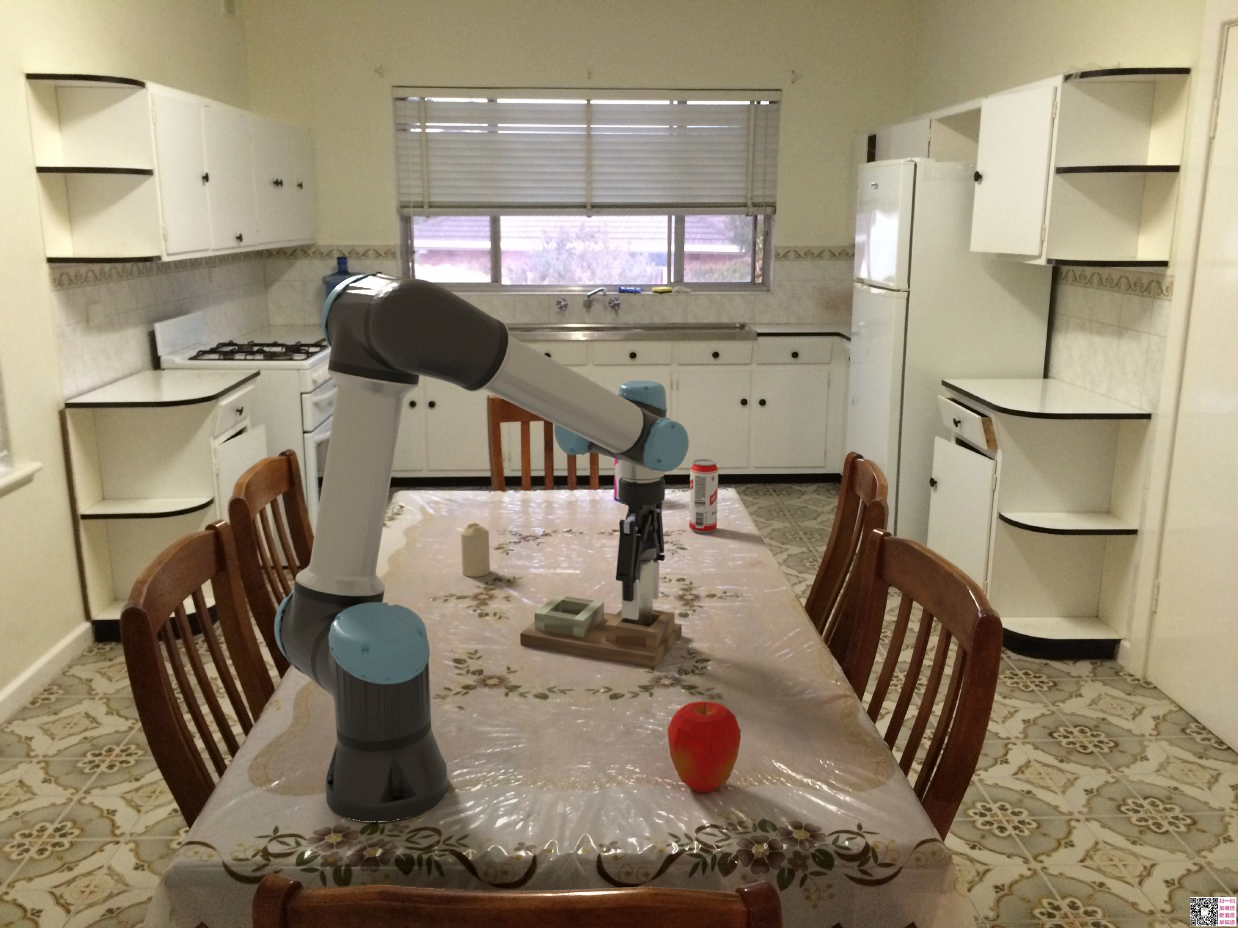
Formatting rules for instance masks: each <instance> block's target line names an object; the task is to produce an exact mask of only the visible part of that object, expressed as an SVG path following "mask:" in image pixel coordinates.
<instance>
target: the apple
mask: <svg viewBox="0 0 1238 928" xmlns="http://www.w3.org/2000/svg"><path fill="white" fill-rule="evenodd" d="M666 731H667V738H668V748H669V754H670V758H671V762H672V764H673V766H674V768H675V772H676V774H677V776H678V778H679V779H680V781H681V782H683V784H685V785H686V786H687V788H689V789H690V790H693V791H694V792H697V793H701V794H702V793H703V794H708V793H712V792H714V791H716V790H718V789H719V788H720V787H721V786H723V785H724V784H725V783H726V782H727V781H728V780H729V779H730V776H731V775H732V772H733V769H734V767H735V764H736V762H737V759H738V756H739V750H740V743H741V737H742V736H741V735H742V734H741V728H740V726H739V723H738V720H737V718H736V715H735V714H734V713H733V712H732V711H731V710H729V708H728V707H726V706H725V705H723V704H720V703H718V702H713V701H706V700H705V701H693V702H690V703H687V704H684V705H683V706H682V707H681V708H679V709H678V710H677V711H676V713H675V714H674V715H673V716H672V718H671V721H670V723H669V724H668V726H667V730H666Z"/></svg>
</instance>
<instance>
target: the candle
mask: <svg viewBox="0 0 1238 928" xmlns="http://www.w3.org/2000/svg"><path fill="white" fill-rule="evenodd" d="M460 545H461V547H460V548H461V572H462V574H463V576H465V577H470V578H480V577H483V576H487V575H489V574H490V573H491V572H490V570H491V568H490V567H491V562H490V561H491V560H490V559H491V558H490V532H489V530H488V529H487V528H486V527H484V526H483V525H481V524H480V523H476V522H473V523H469V524H468V525H466V526H465V528H463V529H462V530H461V532H460Z"/></svg>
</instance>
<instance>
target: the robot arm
mask: <svg viewBox="0 0 1238 928" xmlns="http://www.w3.org/2000/svg"><path fill="white" fill-rule="evenodd" d="M321 311H322V312H321V319H320V321H321V331H322V335H323V336H324V339H325V340H326V343H327V344H328V346H329V347H330V353H329V359H328V365H327V366H328V367H327V373H328V374H329V375H330V377H331V378H332V379H333V381H334V383H335V384H336V395H335V402H334V408H333V415H332V420H331V427H330V433H329V438H328V439H329V441H328V447H327V453H326V458H325V459H326V460H325V465H324V470H323V471H324V472H323V479H322V485H321V492H320V498H319V504H318V511H317V516H316V524H315V530H314V536H313V541H312V542H313V543H312V550H311V555H310V561H309V564H308V565H307V567H305V568H304V569H302V570H300V571H299V572H298V573H297V574H296V576H295V580H294V587H293V589H292V590H291V591H290V594H288V595H287V597H284V598H283V600H282V601H281V603H280V604H279V607H278V609H277V611H276V615H275V618H274V627H273V630H274V637H275V641H276V644H277V647H278V648H279V650H280V652H281V653H282V655H283V656H284V657H285V658H286V659H287V662H288V663H289V664H290V665H292V667H294V668H293V669H295V670H297V671H298V672H300V673H301V674H303V675H305V676H306V677H308V678H309V679H311V680H312V681H313V682H314V683H316V685H318V686H319V687H321V688H322V689H323V690H324V691H326V692H327V693H328V694H329V695H331V696H332V698H333V702H334V703H333V704H334V714H335V715H334V716H335V726H336V727H335V728H336V729H335V730H336V742H335V745H334V748H333V753H332V755H331V760H330V762H329V767H328V770H327V773H326V778H325V797H326V799H325V800H326V803H327V805H328V807H329V808H330V810H332V811H333V812H334V813H335V814H336V813H337V815H338V814H339V815H338V816H340V815H341V816H340V817H342V816H343V817H342V818H344V817H346V818H345V819H347V818H350V819H355V820H358V821H359V820H360V821H369V822H370V821H372V822H373V821H376V822H378V821H393V820H397V819H403V818H406V819H408V818H407V817H410V818H412V817H415V816H418V815H421V814H423V813H424V812H426V811H428V810H429V809H432V808H433V807H434V806H436V805H437V804H438V803H439V802H440V801H441V800H442V799H443V798H444V796H445V795H446V792H447V790H448V785H449V783H448V781H449V780H448V768H447V764H446V762H445V760H444V758H443V756H442V753H441V750H440V747H439V745H438V742H437V740H436V737H435V735H434V733H433V729H432V716H431V715H432V710H431V707H432V705H431V687H430V686H431V685H430V654H431V653H430V642H429V640H428V633H427V628H426V625H425V623H424V621H423V619H422V618H421V617H420V615H418V614H417V613H416V612H415V611H414V610H411V609H409V608H408V607H405V606H402V605H400V604H397V603H396V604H392V605H390V604H389V603H388V602H384V595H385V589H386V586H385V584H384V582H383V581H382V580H381V578H380V577H379V575H377V566H378V560H379V554H380V547H381V544H382V543H381V542H382V535H383V529H384V524H385V517H386V511H387V505H388V501H389V500H388V499H389V492H390V488H391V487H390V486H391V482H392V481H391V479H392V476H393V475H392V473H393V468H394V464H395V463H394V462H395V455H396V450H397V442H398V438H399V437H398V436H399V432H400V424H401V418H402V413H403V407H404V400H405V398H406V396H407V395H409V394H410V393H411V392H413V391H414V390H416V389H417V388H418V386H419V381H420V377H421V376H423V377H426V378H431V379H436V380H440V381H443V382H447V383H449V384H453V385H455V386H458V387H460V388H461V389H464V390H465V391H467V392H468V391H469V392H474V393H475V392H479V391H481V390H483V391H486V392H488V393H490V394H493V395H494V396H496V397H499V398H500V399H503V400H505V401H507V402H509V403H511V404H512V405H515V406H517V407H519V408H521V409H523V410H525V411H527V412H529V413H531V414H534V415H536V416H537V417H540V418H541V419H544V420H546V421H548V422H550V423H552V424H553V426H554V431H553V433H554V438H555V441H556V443H557V445H558V447H559V449H561V450H562V452H564V453H565V454H567V455H569V456H573V455H574V456H576V455H582V456H584V455H586V454H588V453H594V454H595V453H596V454H599V455H602V456H605V457H609V458H612V459H614V460H615V459H619V464H618V474H619V475H620V476H621V478H620V479H619V499H620V501H621V502H623V503H626V504H625V505H626V506H627V507H628V509H627V512H626V516H625V519H619V522H618V524H619V525H618V526H619V537H618V548H617V549H618V551H617V561H616V562H617V563H616V572H615V573H616V574H615V581H617V582H618V581H619V582H621V609H622V618H629V619H635V620H637V619H638V618H639V580H637V574H638V568H639V562H640V556H641V550H642V544H644V545H650V546H653V547H655V548H656V558H655V559H653V600H658V599H659V598H660V562H664V561H665V559H666V555H665V554H664V553H665V539H664V526H663V502H664V500H665V499H666V497H665V496H666V490H665V489H666V479H665V478H664V476H665V474H666V473H668V472H673V471H674V470H676V469H677V468H679V467H680V465H682V463H684V461H685V459H686V456H687V453H688V452H689V447H690V446H689V445H690V444H689V443H690V441H689V435H688V432H687V430H686V428H685V427H684V426H683V424H681V423H679V422H678V421H675V420H673V419H670V418H669V417H667V412H668V408H667V395H666V388H665V386H664V385H663V384H662V383H660V382H656V381H652V380H651V381H650V380H631V381H625V382H622V383H621V384H620V385H619V387H618V394H616V393H615V392H613V391H611V390H610V389H607V388H606V387H604V386H602V385H600V384H598V383H597V382H595V381H593V380H591V379H590V378H588V377H586V376H584V375H582V374H581V373H579V372H577V371H575V370H573V369H571V368H570V367H568V366H566V365H564V364H562V363H561V362H558V361H557V360H555V359H553V358H551V356H550V357H549V356H548V355H546V354H544V353H542V352H540V351H538V350H537V349H535V348H533V347H531V346H529V345H528V344H525V343H524V342H522V341H520V340H518V339H516V338H515V337H513V336H511V335H510V334H511V333H510V331H509V328H508V326H507V325H506V324H505V323H504V322H502V321H500V320H499V319H497V318H495V317H494V316H491V314H489V313H487V312H485V311H483V310H481V308H479V307H477V306H476V305H474V304H472V303H470V302H469V301H467V300H465V298H463V297H461V296H459V295H457V294H456V293H453V292H452V291H450V290H448V289H447V288H445V287H443V286H441V285H440V284H439V285H438V284H436V283H433V282H432V281H429V280H427V279H426V280H425V279H420V278H408V277H402V276H401V277H400V276H395V275H389V274H386V273H377V272H374V273H369V274H368V273H366V274H358V275H354V276H351V277H349V278H347V279H345V280H344V281H342V282H340V283H339V284H338V285H336V287H335V288H334V289H333V290H331V292H330V294H329V295H328V297H327V298H326V300H325V303H324V305H323V308H322V310H321ZM621 502H620V503H621ZM623 503H622V504H623ZM411 816H412V817H411ZM350 819H349V820H350ZM403 820H404V819H403ZM358 821H357V822H358ZM393 822H394V821H393Z"/></svg>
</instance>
